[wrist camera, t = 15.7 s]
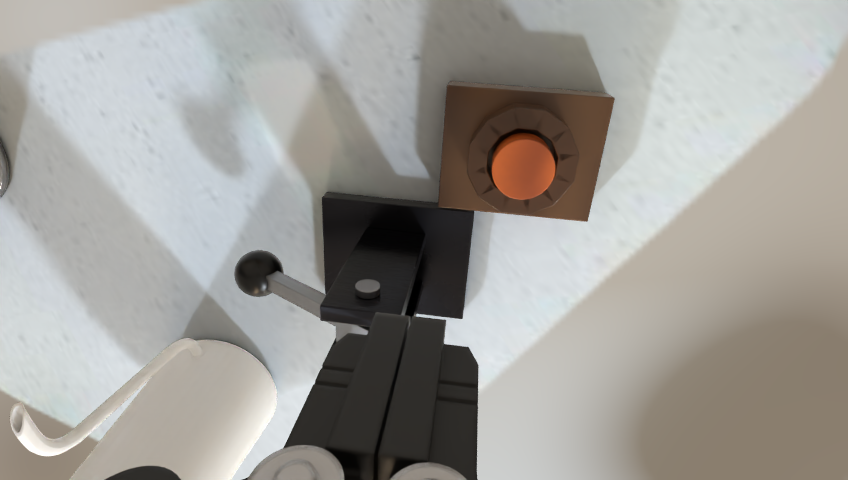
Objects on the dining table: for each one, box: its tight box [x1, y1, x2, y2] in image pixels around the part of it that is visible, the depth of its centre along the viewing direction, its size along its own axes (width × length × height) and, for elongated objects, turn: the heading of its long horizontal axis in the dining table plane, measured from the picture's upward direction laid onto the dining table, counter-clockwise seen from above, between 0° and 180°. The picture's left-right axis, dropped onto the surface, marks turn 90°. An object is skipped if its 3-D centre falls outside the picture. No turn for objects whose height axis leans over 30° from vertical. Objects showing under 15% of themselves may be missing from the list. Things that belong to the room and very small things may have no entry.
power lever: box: [234, 250, 370, 343], centre depth 30 cm, size 13×3×3 cm, turn 87°
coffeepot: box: [10, 338, 277, 480], centre depth 36 cm, size 11×25×19 cm, turn 1°
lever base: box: [320, 192, 474, 366], centre depth 31 cm, size 11×9×12 cm
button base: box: [438, 81, 615, 222], centre depth 30 cm, size 10×8×4 cm
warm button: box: [492, 133, 555, 200], centre depth 28 cm, size 4×4×2 cm
